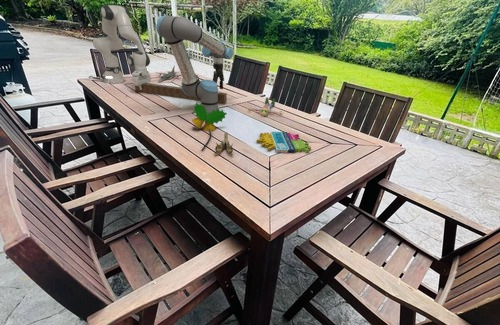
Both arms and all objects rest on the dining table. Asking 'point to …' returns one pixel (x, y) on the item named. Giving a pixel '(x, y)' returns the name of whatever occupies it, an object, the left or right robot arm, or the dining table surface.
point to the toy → (266, 108)
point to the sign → (283, 142)
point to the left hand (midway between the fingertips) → (143, 89)
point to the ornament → (207, 117)
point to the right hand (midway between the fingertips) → (218, 91)
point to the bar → (173, 92)
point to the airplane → (168, 75)
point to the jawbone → (224, 145)
